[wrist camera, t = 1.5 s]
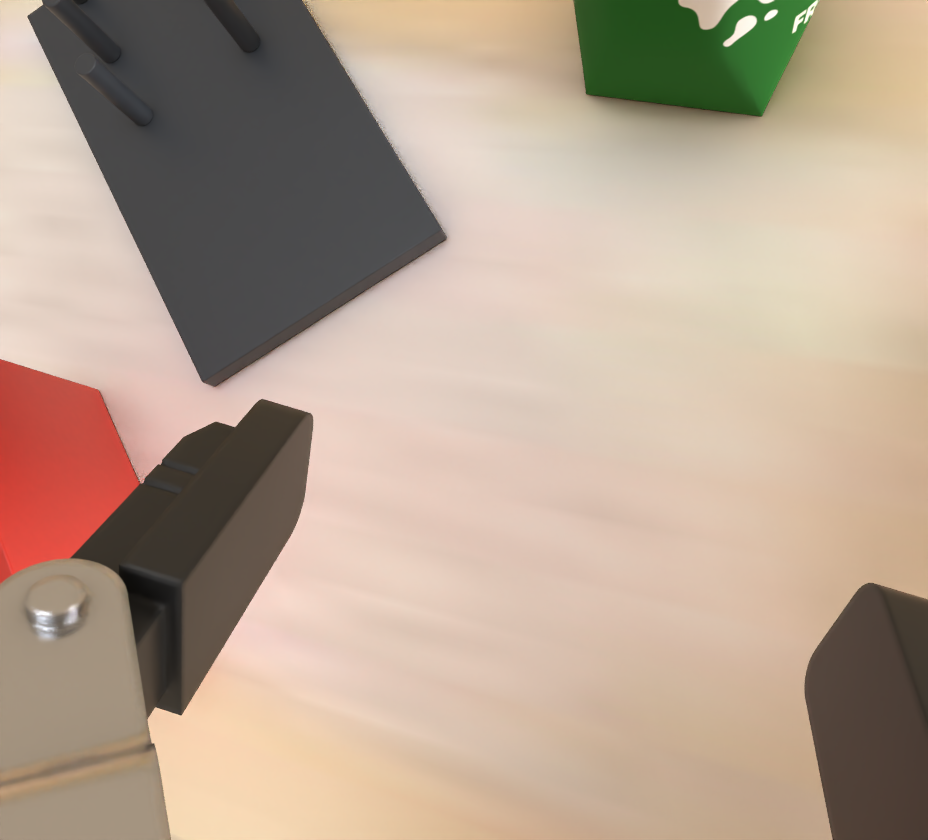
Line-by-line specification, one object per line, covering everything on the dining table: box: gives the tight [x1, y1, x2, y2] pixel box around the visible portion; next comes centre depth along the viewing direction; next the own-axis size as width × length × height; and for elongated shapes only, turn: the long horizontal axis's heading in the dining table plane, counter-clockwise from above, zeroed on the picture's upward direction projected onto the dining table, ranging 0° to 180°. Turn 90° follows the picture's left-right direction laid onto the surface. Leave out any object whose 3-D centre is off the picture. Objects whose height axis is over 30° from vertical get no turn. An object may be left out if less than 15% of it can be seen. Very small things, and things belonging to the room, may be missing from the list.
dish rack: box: [28, 0, 446, 386], centre depth 34 cm, size 12×22×5 cm, turn 29°
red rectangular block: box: [0, 359, 139, 584], centre depth 29 cm, size 2×12×9 cm, turn 29°
